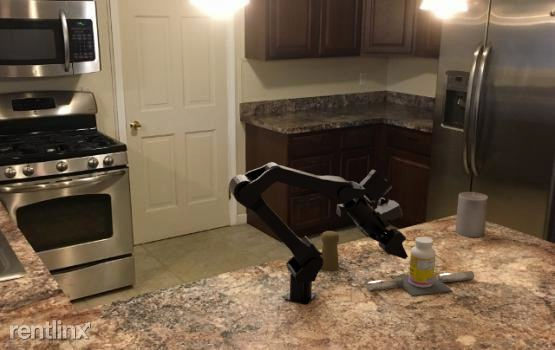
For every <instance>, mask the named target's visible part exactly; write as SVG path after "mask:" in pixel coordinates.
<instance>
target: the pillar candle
mask: <svg viewBox="0 0 555 350" xmlns="http://www.w3.org/2000/svg"><path fill="white" fill-rule="evenodd" d="M488 197H489V196H488V195H486V194H484V193H480V192H475V191H464V192H459V194H458V201H457V208H456V209H457V211H456V220H455V221H456V222H455V230H454V232H455V233H456V234H457V235H460V236H462V237H467V238H480V237H484V234H485V230H486V229H485V228H486V222H487V221H486V219H487V208H488V199H489V198H488Z"/></svg>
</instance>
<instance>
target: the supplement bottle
mask: <svg viewBox="0 0 555 350" xmlns="http://www.w3.org/2000/svg"><path fill="white" fill-rule="evenodd" d="M414 241H415V242H414V244H415V246H413V247H412V248H411V250H410V259H409V271H408V275H409V282H410V284H412V285H413V286H416V287H421V288H426V287H430V286H432V284H433V279H434V277H435V266H436V256H437V255H436V254H437V252H436V250H435V249H434V248H433V245H434V240H433V239H432V238H430V237H426V236H418V237H416V238H415V239H414Z"/></svg>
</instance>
